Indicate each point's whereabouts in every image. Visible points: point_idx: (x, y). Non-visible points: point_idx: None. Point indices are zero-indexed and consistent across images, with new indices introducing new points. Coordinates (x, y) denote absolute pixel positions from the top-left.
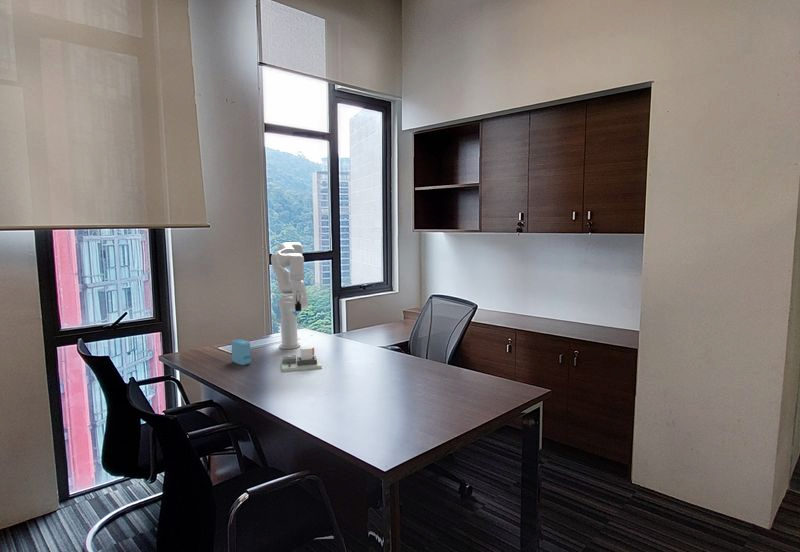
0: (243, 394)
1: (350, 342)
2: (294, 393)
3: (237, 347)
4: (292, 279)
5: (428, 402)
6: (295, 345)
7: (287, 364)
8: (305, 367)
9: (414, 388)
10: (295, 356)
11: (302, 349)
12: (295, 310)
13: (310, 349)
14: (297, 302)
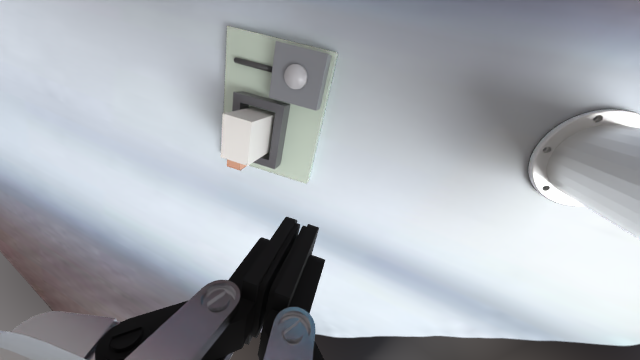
0: None
1: (450, 328)
2: (52, 19)
3: None
4: None
5: (27, 218)
6: (548, 178)
7: (271, 61)
8: (225, 110)
9: (79, 236)
10: (295, 103)
11: (222, 120)
12: (284, 219)
13: (222, 149)
14: (167, 315)
